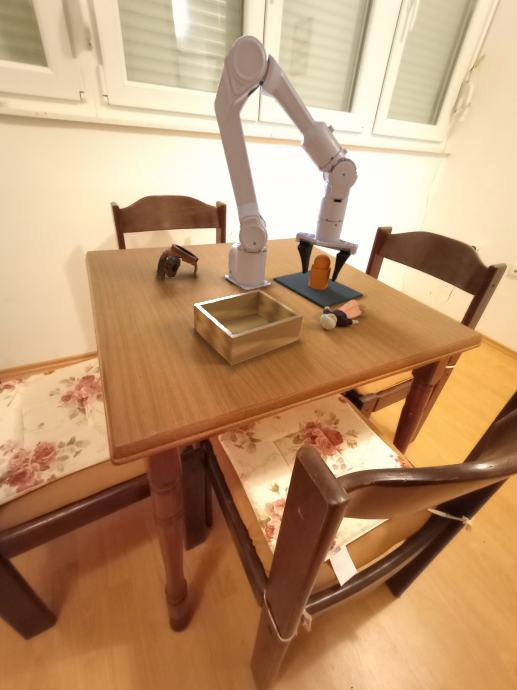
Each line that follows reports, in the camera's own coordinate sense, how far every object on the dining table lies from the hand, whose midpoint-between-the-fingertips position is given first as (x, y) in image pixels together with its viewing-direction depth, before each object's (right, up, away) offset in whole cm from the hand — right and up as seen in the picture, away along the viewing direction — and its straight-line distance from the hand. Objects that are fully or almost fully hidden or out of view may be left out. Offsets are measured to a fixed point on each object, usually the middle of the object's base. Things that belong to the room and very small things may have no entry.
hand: (319, 276), depth 77 cm
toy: (0, -2, +1) cm, 3 cm away
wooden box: (-17, -16, -20) cm, 31 cm away
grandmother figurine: (+6, -9, -9) cm, 14 cm away
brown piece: (-36, 0, +1) cm, 36 cm away
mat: (0, -2, +2) cm, 3 cm away
